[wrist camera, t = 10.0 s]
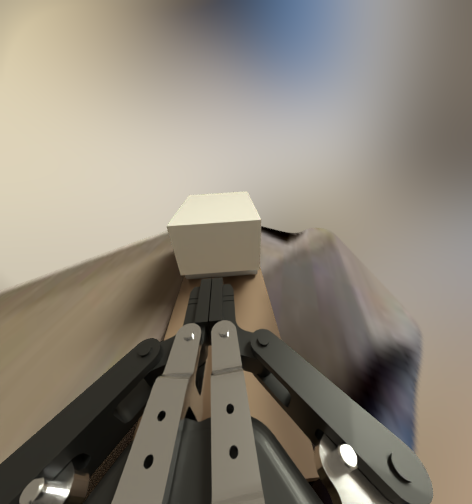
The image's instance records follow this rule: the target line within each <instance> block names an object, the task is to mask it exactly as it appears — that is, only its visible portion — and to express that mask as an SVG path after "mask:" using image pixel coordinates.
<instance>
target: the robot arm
mask: <svg viewBox="0 0 472 504" xmlns="http://www.w3.org/2000/svg"><path fill="white" fill-rule="evenodd" d="M210 345H212V373H211V417H209V418H207V419H205V420H203V421H202V415H203V392H204V385H205V378H206V371H207V363H208V346H210ZM243 370H244V371H247V372H251V373H252V374H253V375H254V376H255V378H256V379H257V380H258V381H259V382H260V383H261V384H262V386H263V387H264V388H265V389H266V390H267V391H268V392H269V394H270V395H271V396H272V397H273V398H274V399H275V401H276V402H277V403H278V404H279V405H280V406H281V407H282V409H283V410H284V411H285V412H286V413H287V414H288V415H289V417H290V418H291V419H292V420H293V421H294V422H295V423H296V425H297V426H298V427H299V428H300V429H301V430H302V431H303V433H304V434H305V435H306V436H307V437H308V438H309V439H310V441H311V442H312V443H313V444H314V445H315V446H316V447H315V450H314V462H315V467H316V470H317V473H318V475H319V477H320V479H321V481H322V482H323V484H324V486H325V487H326V489H327V490H328V492H329V494H330V496H331V499H332V501H333V504H430V503H431V501H432V498H433V488H432V484H431V481H430V478H429V475H428V473H427V471H426V469H425V467H424V466H423V464H422V463H421V461H420V460H419V458H418V457H417V456H416V454H415V453H414V452H413V451H412V450H411V449H410V448H409V447H408V446H407V445H406V444H405V443H403V442H402V441H401V440H400V439H399V438H397V437H396V436H395V435H394V434H393V433H392V432H390V431H389V430H388V429H387V428H386V427H384V426H383V425H382V424H381V423H380V422H378V421H377V420H376V419H375V418H374V417H372V416H371V415H370V414H369V413H368V412H366V411H365V410H364V409H363V408H362V407H361V406H359V405H358V404H357V403H356V402H355V401H353V400H352V399H351V398H350V397H349V396H347V395H346V394H345V393H344V392H343V391H341V390H340V389H339V388H338V387H337V386H335V385H334V384H333V383H332V382H331V381H329V380H328V379H327V378H326V377H325V376H324V375H322V374H321V373H320V372H319V371H318V370H316V369H315V368H314V367H313V366H312V365H310V364H309V363H308V362H307V361H306V360H304V359H303V358H302V357H301V356H300V355H298V354H297V353H296V352H295V351H294V350H293V349H291V348H290V347H289V346H288V345H287V344H285V343H284V342H283V341H282V340H281V339H279V338H278V337H277V336H276V335H275V334H273V333H272V332H271V331H269V330H267V329H258V330H256V331H255V332H254V333H253V332H249V331H245V330H243V329H241V328H240V327H239V326H238V325H237V323H236V316H235V303H234V290H233V288H232V286H231V285H230V284H224V285H223V277H221V278H209V279H202V280H201V285H200V287H194V288H193V290H192V291H191V292H190V297H189V301H188V306H187V310H186V315H185V319H184V323H183V326H182V327H181V328H180V329H179V330H178V332H177V334H176V335H175V336H173V337H171V338H169V339H166V340H164V341H161V342H159V341H158V340H157V339H154V338H150V339H146V340H144V341H142V342H140V343H139V344H138V345H137V346H136V347H135V348H133V349H132V350H131V351H130V352H129V353H128V354H126V355H125V356H124V357H123V358H122V359H121V360H120V361H118V362H117V363H116V364H115V365H114V366H113V367H112V368H110V369H109V370H108V371H107V372H106V373H105V374H103V375H102V376H101V377H100V378H99V379H98V380H97V381H95V382H94V383H93V384H92V385H91V386H90V387H89V388H87V389H86V390H85V391H84V392H83V393H82V394H80V395H79V396H78V397H77V398H76V399H75V400H74V401H72V402H71V403H70V404H69V405H68V406H67V407H66V408H64V409H63V410H62V411H61V412H60V413H59V414H57V415H56V416H55V417H54V418H53V419H52V420H51V421H49V422H48V423H47V424H46V425H45V426H44V427H43V428H41V429H40V430H39V431H38V432H37V433H36V434H34V435H33V436H32V437H31V438H30V439H29V440H28V441H26V442H25V443H24V444H23V445H22V446H21V447H20V448H18V449H17V450H16V451H15V452H14V453H13V454H11V455H10V456H9V457H8V458H7V459H6V460H5V461H3V462H2V463H1V464H0V504H323V502H322V501H321V500H320V498H319V497H318V495H317V494H316V493H315V491H314V490H313V489H312V487H311V486H310V484H309V483H308V482H307V480H306V479H305V477H304V476H303V475H302V473H301V472H300V470H299V469H298V468H297V466H296V465H295V463H294V462H293V461H292V459H291V458H290V456H289V455H288V454H287V452H286V451H285V449H284V448H283V447H282V445H281V444H280V442H279V441H278V440H277V438H276V437H275V435H274V434H273V433H272V432H271V430H270V429H269V428H268V427H267V426H266V425H265V424H263V423H262V422H261V421H259V420H258V419H256V418H254V417H252V416H251V415H250V409H249V403H248V396H247V390H246V384H245V377H244V372H243ZM142 415H143V416H142ZM141 416H142V419H141V422H140V425H139V427H138V430H137V433H136V436H135V439H134V440H133V441H132V442H131V443H130V444H129V445H128V446H127V447H126V448H125V450H124V451H123V452H122V453H121V455H120V456H119V457H118V458H117V460H116V461H115V462H114V464H113V465H112V466H111V468H110V469H109V470H108V471H107V473H106V474H105V475H104V477H103V478H102V479H101V481H100V482H99V483H98V484H97V486H96V487H95V488H94V490H93V491H92V492H91V494H90V495H89V496H88V497H87V499H86V500H85V498H86V495H87V489H88V485H89V478H90V477H91V475H92V474H93V473H94V472H95V471H96V469H97V468H98V467H99V466H100V465H101V464H102V462H103V461H104V460H105V459H106V458H107V456H108V455H109V454H110V453H111V452H112V450H113V449H114V448H115V447H116V446H117V444H118V443H119V442H120V441H121V440H122V439H123V437H124V436H125V435H126V434H127V433H128V431H129V430H130V429H131V428H132V427H133V425H134V424H135V423H136V422H137V421H138V420H139V418H140V417H141ZM84 500H85V501H84ZM83 502H84V503H83Z"/></svg>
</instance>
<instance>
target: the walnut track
mask: <svg viewBox="0 0 472 504" xmlns="http://www.w3.org/2000/svg"><path fill="white" fill-rule="evenodd" d="M213 278H221V277H213ZM202 279H209V278H200V279H186V277H185V275H184V278H183V281H182V284H181V287H180V290H179V293H178V297H177V300H176V303H175V306H174V309H173V312H172V316H171V319H170V322H169V325H168V328H167V331H166V335H165V338H164V340H166V339H169V338H171V337H173V336H175V335H176V334H177V332H178V330H179V329H180V328H181V327H182V326H183V323H184V319H185V315H186V310H187V306H188V301H189V297H190V292H191V291H192V290H193V288H194V287H200V285H201V280H202ZM224 284H230V285H231V286H232V288H233V290H234V303H235V316H236V323H237V325H238V326H239V327H240V328H241V329H243V330H245V331H249V332H253V333H254V332H255V331H256V330H258V329H267V330H269V331H271V332H272V333H273V334H275V335H276V336H277V337H278V338H279V339H281V338H280V334H279V331H278V327H277V324H276V320H275V317H274V314H273V310H272V307H271V303H270V300H269V296H268V293H267V290H266V286H265V283H264V279H263V276H262V272H261V269H260V270H258V273H257V274H253V275H240V276H227V277H223V285H224ZM243 372H244V377H245V384H246V390H247V396H248V403H249V409H250V415H251V416H252V417H254V418H256V419H258V420H259V421H261V422H262V423H263V424H265V425H266V426H267V427H268V428H269V429H270V430H271V432H272V433H273V434H274V435H275V437H276V438H277V440H278V441H279V442H280V444H281V445H282V447H283V448H284V449H285V451H286V452H287V454H288V455H289V456H290V458H291V459H292V461H293V462H294V463H295V465H296V466H297V468H298V469H299V470H300V472H301V473H302V475H303V476H304V477H305V479H306V480H307V482H309V481H316V480H317V479H319V478H320V477H319V475H318V473H317V470H316V467H315V462H314V451H313V448H312V444H311V441H310V439H309V438H308V437H307V436H306V435H305V434H304V433H303V431H302V430H301V429H300V428H299V427H298V426H297V425H296V423H295V422H294V421H293V420H292V419H291V418H290V417H289V415H288V414H287V413H286V412H285V411H284V410H283V409H282V407H281V406H280V405H279V404H278V403H277V402H276V401H275V399H274V398H273V397H272V396H271V395H270V394H269V392H268V391H267V390H266V389H265V388H264V387H263V386H262V384H261V383H260V382H259V381H258V380H257V379H256V378H255V376H254V375H253V374H252V373H251V372H247V371H244V370H243ZM211 373H212V345H210V346H208V363H207V371H206V378H205V385H204V392H203V415H202V421H203V420H205V419H207V418H209V417H211ZM142 416H143V415H142ZM142 416H141V417H140V418H139V420H138V423H137V427H136V430H135V433H134V436H133V439H132V441H133V440H134V439H135V436H136V433H137V430H138V427H139V425H140V422H141V419H142Z"/></svg>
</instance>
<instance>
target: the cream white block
mask: <svg viewBox="0 0 472 504" xmlns="http://www.w3.org/2000/svg"><path fill="white" fill-rule="evenodd" d="M167 229H168V233H169V236H170V240H171V243H172V247H173V250H174V254H175V257H176V261H177V264H178V268H179V271H180V275H185V277H186V279H200V278H213V277H227V276H240V275H253V274H257V273H258V270H260V242H261V219H260V217H259V214H258V212H257V211H256V208H255V206H254V204H253V202H252V200H251V198H250V196H249V194H248V192H233V193H217V194H201V195H189V196H188V198H187V199H186V200H185V202H184V203H183V205H182V206H181V207H180V209H179V210H178V211H177V213H176V214H175V215H174V217H173V218H172V219H171V221H170V222H169V224H168V225H167Z"/></svg>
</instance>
